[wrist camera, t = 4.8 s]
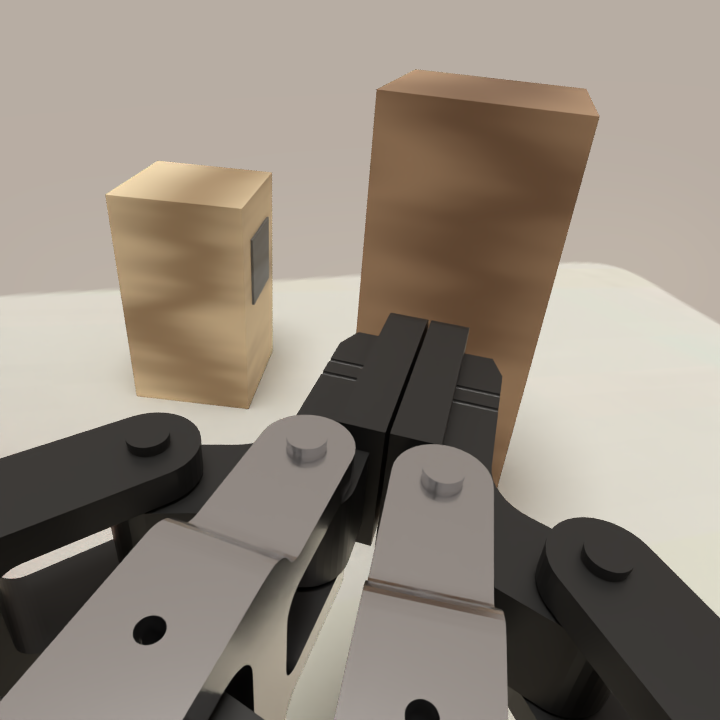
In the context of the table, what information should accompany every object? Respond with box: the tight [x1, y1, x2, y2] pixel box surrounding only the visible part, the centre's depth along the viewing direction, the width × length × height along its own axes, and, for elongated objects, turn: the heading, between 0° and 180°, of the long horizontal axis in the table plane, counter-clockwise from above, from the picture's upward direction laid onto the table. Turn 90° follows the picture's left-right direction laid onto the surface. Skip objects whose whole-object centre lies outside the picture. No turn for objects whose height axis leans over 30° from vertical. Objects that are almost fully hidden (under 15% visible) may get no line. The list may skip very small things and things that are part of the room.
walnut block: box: [356, 69, 599, 487], centre depth 19 cm, size 5×5×14 cm
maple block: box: [105, 161, 273, 409], centre depth 26 cm, size 5×5×9 cm
